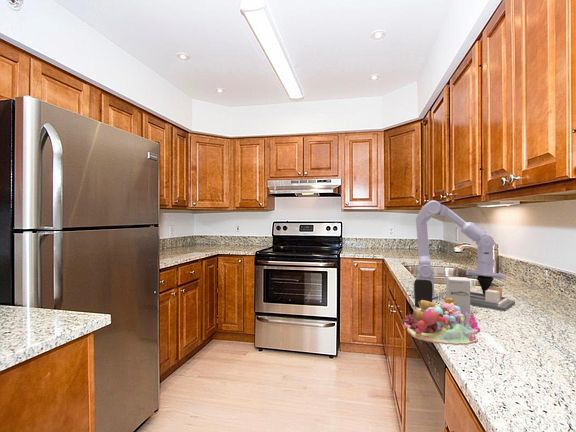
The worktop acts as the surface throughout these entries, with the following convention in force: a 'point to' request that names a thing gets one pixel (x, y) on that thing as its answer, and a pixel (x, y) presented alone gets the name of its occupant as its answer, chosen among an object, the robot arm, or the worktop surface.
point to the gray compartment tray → (479, 300)
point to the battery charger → (423, 290)
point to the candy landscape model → (442, 323)
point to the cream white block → (492, 296)
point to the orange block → (497, 290)
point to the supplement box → (459, 291)
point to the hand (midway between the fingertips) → (485, 293)
